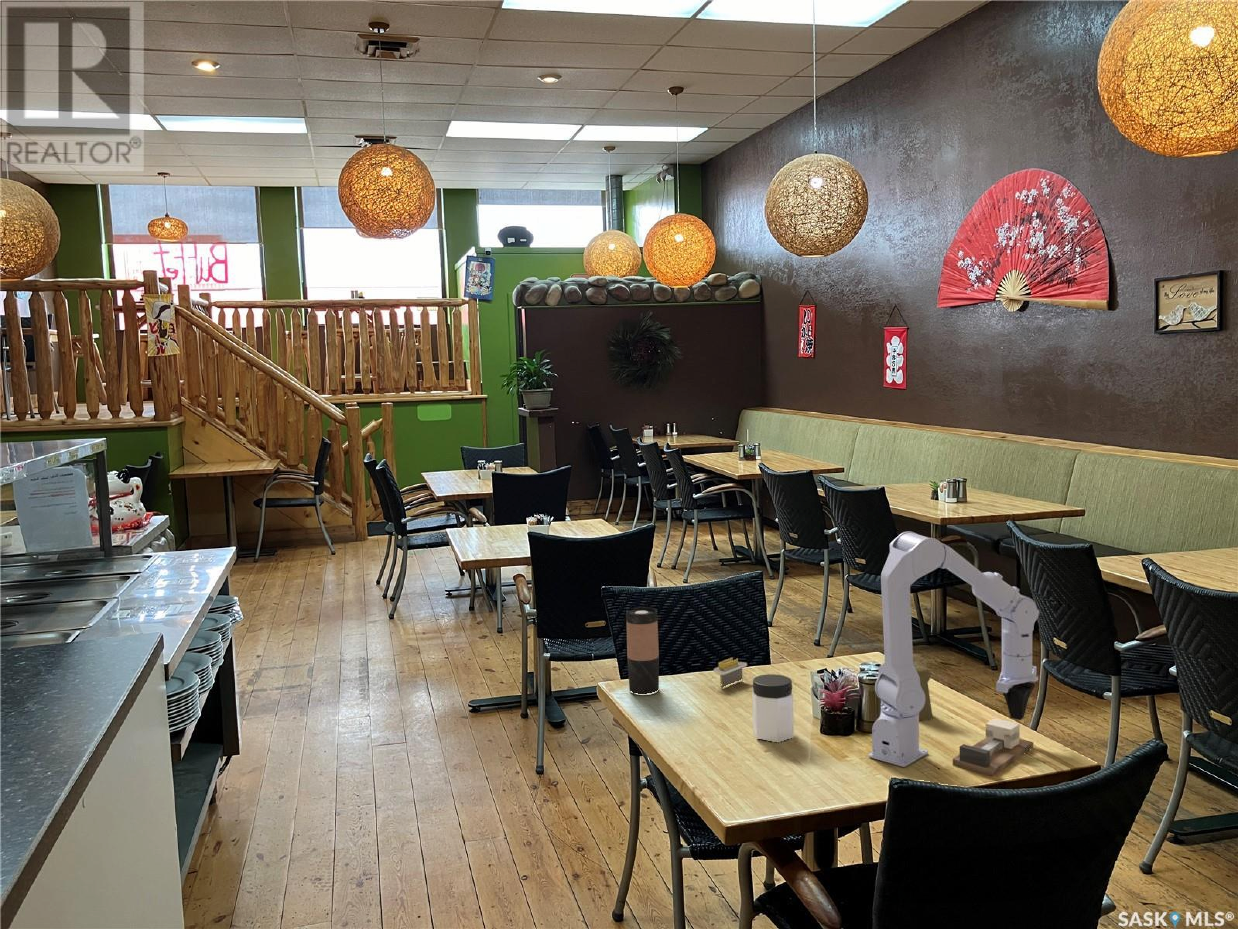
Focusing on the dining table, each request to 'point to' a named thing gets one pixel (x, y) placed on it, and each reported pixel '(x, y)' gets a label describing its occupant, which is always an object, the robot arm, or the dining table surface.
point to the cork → (924, 678)
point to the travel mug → (642, 650)
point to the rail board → (990, 756)
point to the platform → (730, 671)
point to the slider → (1003, 732)
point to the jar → (773, 708)
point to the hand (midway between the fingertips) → (1016, 718)
